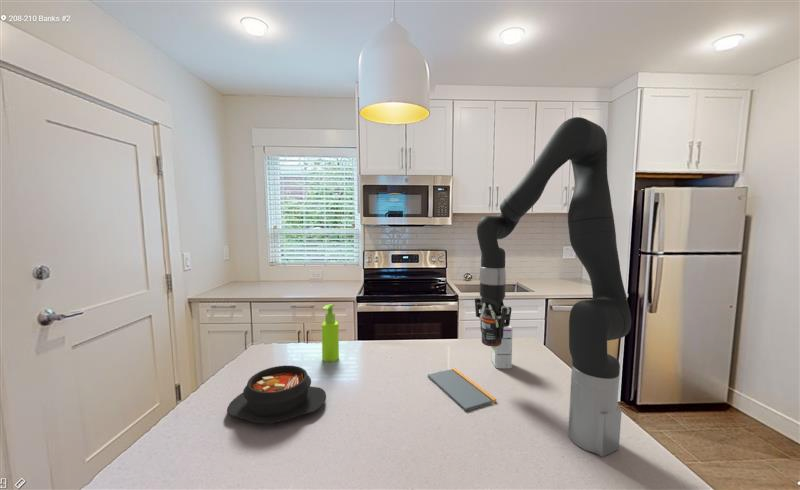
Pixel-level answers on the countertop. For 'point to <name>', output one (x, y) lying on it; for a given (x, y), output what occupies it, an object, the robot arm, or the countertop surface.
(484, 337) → the supplement bottle
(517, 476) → the countertop surface
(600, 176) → the robot arm
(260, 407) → the casserole
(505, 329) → the syrup box
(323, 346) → the soap dispenser
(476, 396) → the grey board
